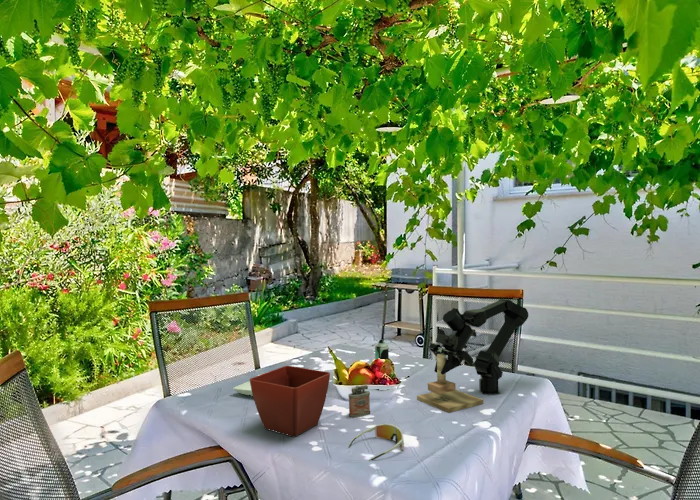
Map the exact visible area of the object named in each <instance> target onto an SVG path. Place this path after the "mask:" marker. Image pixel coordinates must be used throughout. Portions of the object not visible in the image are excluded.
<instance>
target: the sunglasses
mask: <svg viewBox="0 0 700 500" xmlns="http://www.w3.org/2000/svg"><path fill="white" fill-rule="evenodd" d="M373 431H374V435H375V438H376V439H385V440H390V441H393V440H394V438H395V443H396V444H395V445H394V446H392V447H391V448H390V449H387V450H385V451H383V452H381V453H379V454H376V455H375V456H373V457H372V458H370V459H368V460H367V461H368V462H371V461H370V460H372V461H374V460H377V459H378V458H380V457H382V456H384V455H386V454H390V452H392V451H394V449H397V448H399V447H400V450H401V451H403V450H404V446H405V445H404V444H405V442H404V434H403V430H402V429H401V428H400V427H399V426H397V425H396V424H395V425H394V424H392V423H382V424H381V423H380V424H375V426H373V427H370V428H368V429H366V430H363V431H362V432H361V433H359V434H357V435H356V436H354V437H353V438H352V440H350V442H349V444H348V446H347V448H346V449H349V448H351V445H352V444H353V442H355V441H356V439H359V438H360V437H361V436H362V435H364V434H366V433H372V432H373ZM400 445H401V446H400Z"/></svg>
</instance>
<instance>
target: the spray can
mask: <svg viewBox="0 0 700 500" xmlns="http://www.w3.org/2000/svg"><path fill="white" fill-rule="evenodd" d="M378 358H380V359H388V360H389V359H390V357H389V344H387V343H386V342H385V340H384V339H382V338H381V339H379V341H378V342H377V344H375V346H374V361H375V360H376V359H378Z"/></svg>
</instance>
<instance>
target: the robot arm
mask: <svg viewBox="0 0 700 500" xmlns="http://www.w3.org/2000/svg"><path fill="white" fill-rule="evenodd" d="M501 313H503V314H504V317H503V319H504V322H503V324H502V326H501V327H500V329H499V331H498V332H497V333H496V335H495V337H494V338H493V340H492V342H491V344H490V345H489V346H488V349H486V350H481V349H480V351H478V355H476V357H474V358H475V360H474V358H473V357H472V356H471V355H470V353H469V352H468V351H466V350H467V348H468V345H467V343H468V342H469V340H470V339H471V338H472V337H475V338H477V332H476V329H473V328H472V327H475V328H480V327H482V326H483V325H484V324H486V323H487V320H488V319H491V318H493V317H495V316H497V315H498V314H501ZM528 319H529V311H528V309H527V308H526V307H524V306H521V305H519V304H518V303H516V302H514V301H512V300H511V299H509V298H508V299H505V298H500V299H498V300H496V301H495V302H492V303H491V304H488V305H486V306H483V307H481V308H477V309H468V310H465V311H464V312H463V313H462V312H460V310H459V309H458V308H456V307H453V308H452V309H450V310H448V311H447V312H445V313H444V314H443V316H442V320H443V322H444V323H445V324H446V325H447V326H448V328H449V329H450V330H451V331H452V332H454V333H453V334H449V335H447V334H443V333H437V336H436V339H435V342H436V343H435V342H432V343H430V344H429V346H428V349H429V350H430V352H431V353H432V354H433V355H434V356H435V357H437V354H445V365H444V367H443V369H442V371H441V374H442V375H443V374H445V373H446V374H447V373H448V372H450V371H452V370H453V369H456V368H457V367H460V366H462V365H463V364H462V362H463V363H464V365H465V366H467V367H472V364H473V363H474V369H475V371H476V374H477V376H479V375H480V378H479V379H478V389H479V391H480V392H481V393H482V394H483V395H499V394H501V393H500V391H499V380H500V379H501V378H502V377H503V371H502V370H501V368H500V367H499V365H500V356H501V354H502V352H503V350H504V349H505V347H506V346H507V344H508V342H509V341H510V339H511V337H512V336H513V334H514V333H515V332H516V331H515V330H516V329H517V328H519V327H521V326H524V324H525V323H526V321H527V320H528ZM440 344H441V345H440ZM464 349H466V350H464ZM434 373H436V374H437V360H436V361H435V367H434Z"/></svg>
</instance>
